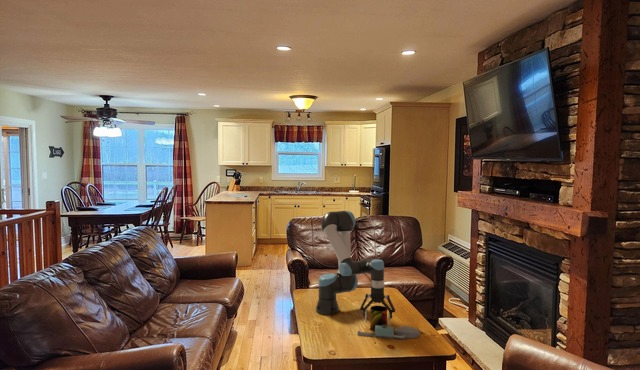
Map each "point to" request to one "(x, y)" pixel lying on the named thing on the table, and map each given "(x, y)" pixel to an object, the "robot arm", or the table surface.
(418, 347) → the table surface
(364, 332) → the rail
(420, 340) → the table surface
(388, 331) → the latch block
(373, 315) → the mug
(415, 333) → the coaster
